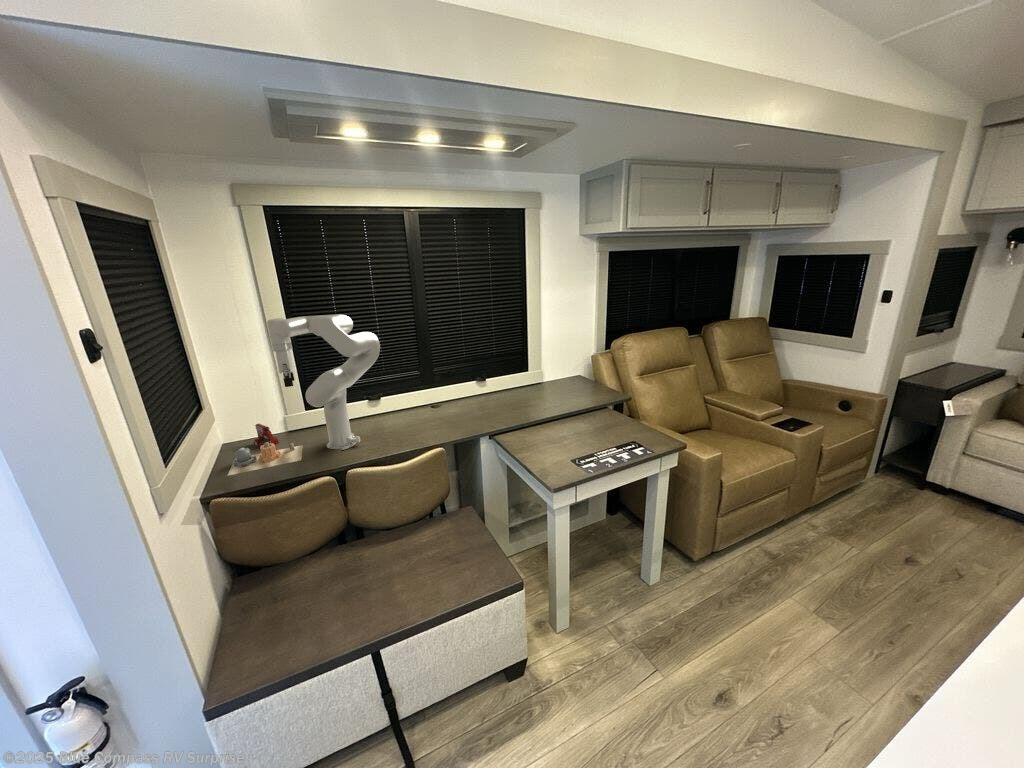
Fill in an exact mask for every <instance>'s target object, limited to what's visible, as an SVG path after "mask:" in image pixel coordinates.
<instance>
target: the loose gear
mask: <svg viewBox="0 0 1024 768" xmlns="http://www.w3.org/2000/svg"><path fill="white" fill-rule="evenodd" d="M269 446H270V447H267V448H265V447H264V445H263V446H261V447H260V446H259V449H260V453H261V455H259V461H260V462H261V461H264V462H267V461H274V460H275V459H276V458H280V455H281V454H280V451H276V450H277V449H276V444H275V445H274V444H273V443H271V444H270V443H269Z"/></svg>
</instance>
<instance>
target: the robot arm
mask: <svg viewBox="0 0 1024 768" xmlns="http://www.w3.org/2000/svg"><path fill="white" fill-rule="evenodd" d="M266 325H267V330H268V334H269V340H270V343H271V346H272V347H271V348H272V352H274V353H275V357H276V362H277V368H278V372H279V374H281V375H282V377H283V378H282V379H283V383H284V384H283V385H284V387H285V388H289V387H294V382H295V377H294V376H295V375H294V372H293V370H294V369H293V360H292V355H291V350H293V345H292V340H291V338H292V337H296V336H301V335H306V334H311V333H312V334H314V335H316V336H318V337H321V338H322V339H323V340H324V341H325V342H327V343H328V344H329V345H330V346H331V347H332V348H333V349H335V350H336V351H337V352H338V353H339V354H341V355H342V356H344V357H345V358H348V359H347V360H346V361H345V362H344V363H343V364H342V365H339V366H337V367H335V368H333V369H330V370H327V371H325V372H324V373H323V372H322V373H321V375H319V376H318V377H317V378H316V379H315V380H314V381H313V382H312V384H310V385H309V386H308V388H307V389H306V391H305V400H306V402H307V403H308V404H309V405H310V406H311V407H315V408H321V407H323V414H324V418H325V424H326V431H327V435H328V440H329V441H328V443H326V447H327V448H328V449H334V450H339V449H340V451H344V450H347V449H350V448H352V447H353V446H355V445H356V443H360V442H361V437H360V435H355V434H354V432H352V430H351V429H352V428H351V423H350V417H349V411H348V408H347V407H348V405H347V388H351V387H352V386H353V385H354V384H355V383H356V382H357V381H358V380H359V379H360V378H361V377H362V376H363V375H364V374H365V373H366V372H367V371H368V370H369V369H370V368H371V367H372V366H373V365H374V364H375V363H376V361H377V360H378V358H379V356H380V352H381V351H380V350H381V345H380V341H379V338H378V336H377V335H376V334H375V333H372V332H370V331H361V332H357V333H353V334H350V335H349V333H351V331H352V330H353V327H354V322H353V320H352V318H351V317H350V316H347V315H346V314H340V313H338V314H325V315H324V314H323V315H307V316H306V315H305V316H297V317H290V318H286V319H285V318H282V317H281V318H280V317H279V318H270V319H269V320H267V322H266Z"/></svg>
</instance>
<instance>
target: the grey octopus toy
mask: <svg viewBox="0 0 1024 768" xmlns="http://www.w3.org/2000/svg"><path fill="white" fill-rule="evenodd" d="M234 454H235V458H237V459H235V458H234V460H233V462H234V463H233V462H232V464H233V465H234V467H236V466H238V468H241V467H243V466H250V464H252V463H255V462H256V460H257V459H256V456H251V455H252V453H251V450H250V448H249V447H246V448H245V447H241V448H238V450H235V451H234Z"/></svg>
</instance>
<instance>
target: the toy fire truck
mask: <svg viewBox="0 0 1024 768" xmlns="http://www.w3.org/2000/svg"><path fill="white" fill-rule="evenodd" d="M254 426H255V430H256V432H257V438H256V439H254V440H253V444H254V445H255V446H257V447H259V448H260V447H261V446H263V445H264V443H266V442H269V443H270V444H271V443H273V444H274V445H275V446H276V445H279V443H280V442H279V439H278V438H277V437H275V436H274V435H273V432H272V430H270V427H269V426H266V425H264V424H261V423H256V424H255V425H254Z"/></svg>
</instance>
